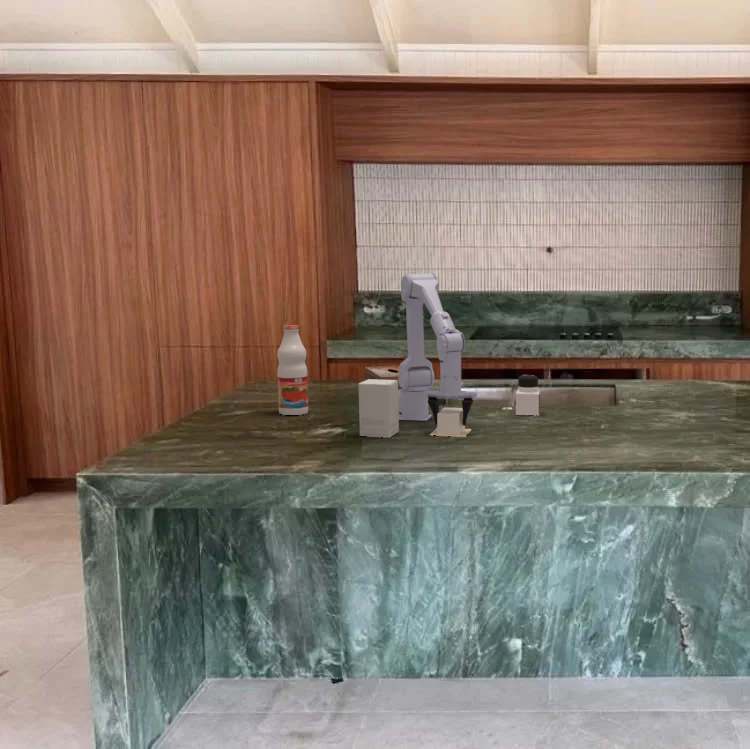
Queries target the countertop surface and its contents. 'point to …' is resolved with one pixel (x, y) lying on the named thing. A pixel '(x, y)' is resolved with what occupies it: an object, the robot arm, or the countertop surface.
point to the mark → (462, 434)
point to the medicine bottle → (528, 396)
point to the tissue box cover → (382, 373)
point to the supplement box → (378, 408)
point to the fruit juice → (292, 374)
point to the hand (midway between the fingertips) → (450, 424)
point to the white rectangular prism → (450, 421)
